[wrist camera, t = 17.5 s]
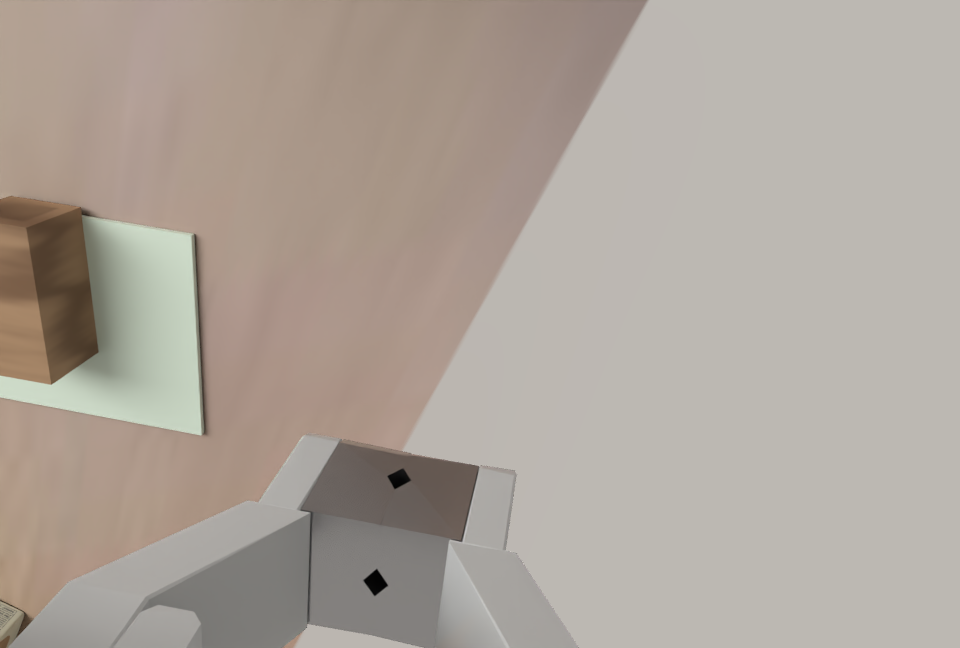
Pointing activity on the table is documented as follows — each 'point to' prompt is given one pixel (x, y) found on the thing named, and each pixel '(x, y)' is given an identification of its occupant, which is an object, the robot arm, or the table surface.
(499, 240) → the table surface
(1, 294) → the block
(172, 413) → the mat
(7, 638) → the skincare box
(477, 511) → the robot arm
